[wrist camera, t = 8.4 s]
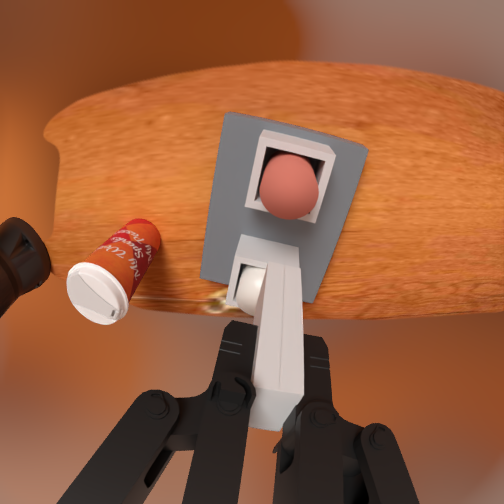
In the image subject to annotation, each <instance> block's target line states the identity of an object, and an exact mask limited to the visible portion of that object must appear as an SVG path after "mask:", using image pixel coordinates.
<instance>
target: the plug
mask: <svg viewBox="0 0 504 504" xmlns="http://www.w3.org/2000/svg"><path fill="white" fill-rule="evenodd" d="M265 271H266V269H264V268H260V267H256V266H251V265H247V264H244V265H243V269H242V274H241V278H240V282H239V286H238V290H237V294H236V302H237V304H238V306H239V307H240V309H241V310H243V311H244V312H245V313H247V314H249V315H252V316H254V315H255V308H256V304H257V300H258V296H259V293H260V289H261V286H262V282H263V278H264V275H265Z"/></svg>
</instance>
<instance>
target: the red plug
mask: <svg viewBox="0 0 504 504" xmlns="http://www.w3.org/2000/svg"><path fill="white" fill-rule="evenodd" d="M318 196H319V188H318V184H317V181H316V177H315V174H314V171H313V167H312V164H311V162H310V160H309V158H308V157H307V156H305V155H301V154H297V153H293V152H289V151H285V150H278V151H276V152H275V153H273V154H272V155H271V156H270V158H269V159H268V161H267V164H266V167H265V171H264V174H263V178H262V181H261V185H260V198H261V201H262V203H263V205H264V207H265V208H266V209H267V210H268V211H269V212H270V213H271V214H272V215H274V216H276V217H278V218H282V219H288V220H291V219H298V218H301V217H303V216H305V215H307V214H308V213H309V212H310V211H311V210H312V209H313V208H314V207H315V205H316V203H317V200H318Z"/></svg>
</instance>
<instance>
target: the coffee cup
mask: <svg viewBox="0 0 504 504" xmlns="http://www.w3.org/2000/svg"><path fill="white" fill-rule="evenodd" d="M160 243H161V238H160V234H159V232H158V230H157V228H156V227H155V226H154V225H153V224H152V223H151V222H149V221H147V220H145V219H134V220H132V221H130V222H129V223H127V224H126V225H125V226H123V227H122V228H121V229H120V230H119V231H117V232H116V233H115V234H114V235H113V236H111V237H110V238H109V239H108V240H107V241H106V242H104V243H103V244H102V245H101V246H100V247H99V248H98V249H96V250H95V251H94V252H93V253H92V254H91V255H90V256H89V257H87V258H86V259H85V260H84V261H83V262H82V263H78V264H76V265H75V266H74V267H73V268H72V269H71V270H69V273H68V277H67V292H68V295H69V298H70V300H71V302H72V304H73V305H74V306H75V308H76V309H77V310H78V311H79V312H80V313H81V314H82V315H83V316H85V317H86V318H88V319H89V320H91V321H93V322H96V323H99V324H105V325H106V324H112V323H114V322H116V321H117V320H119V319H121V318H123V317H124V316H125V315H126V313H127V311H128V303H129V301H130V300H131V298H132V296H133V294H134V292H135V290H136V288H137V287H138V285H139V283H140V281H141V279H142V278H143V276H144V274H145V272H146V270H147V269H148V267H149V265H150V263H151V262H152V260H153V258H154V256H155V254H156V252H157V251H158V249H159V246H160Z"/></svg>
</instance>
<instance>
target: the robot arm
mask: <svg viewBox="0 0 504 504" xmlns="http://www.w3.org/2000/svg"><path fill="white" fill-rule="evenodd" d="M50 268H51V267H50V260H49V256H48V253H47V250H46V248H45V246H44V244H43V242H42V240H41V238H40V237H39V235H38V234H37V233H36V232H35V230H34V229H33V228H32V227H31V226H30V225H29V224H28V223H27V222H25V221H23V220H22V219H20V218H16V217H12V218H9V219H7V220H6V221H5V222H3V223H2V224H1V225H0V318H1V317H2V316H3V314H4V313H5V312H6V311H7V309H9V307H10V306H11V305H12V304H13V303H14V302H15V301H16V299H17V298H18V297H19V296H21V295H23V294H25V293H27V292H30V291H32V290H33V289H35V288H38V287H40V286H41V285H42V284H43V283H44V282H45V281H46V280H47V279H48V277H49V275H50ZM329 368H330V365H329V354H328V347H327V345H326V344H325V342H324V340H323V338H322V337H317V336H312V335H307V334H303V310H302V285H301V268H297V267H292V266H288V265H283V264H279V263H274V262H270V261H268V264H267V267H266V271H265V275H264V278H263V282H262V286H261V289H260V293H259V296H258V300H257V304H256V308H255V315H254V321H253V325H252V324H247V323H243V322H238V321H234V320H232V321H231V322H230V323H229V324H228V325H227V326H226V327H225V329H224V333H223V337H222V341H221V345H220V349H219V353H218V357H217V361H216V365H215V369H214V373H213V377H212V381H211V383H210V385H209V387H208V389H207V390H206V391H205V392H203V393H202V394H200V395H198V396H195V397H189V398H174V397H173V396H172V395H170V394H169V393H168V392H165V391H162V390H149V391H146V392H143V393H142V394H141V395H140V396H138V397H137V398H136V400H135V401H134V402H133V404H132V405H131V406H130V408H129V409H128V410H127V412H126V413H125V414H124V415H123V417H122V418H121V419H120V421H119V422H118V423H117V425H116V426H115V427H114V429H113V430H112V431H111V433H110V434H109V435H108V436H107V438H106V439H105V440H104V442H103V443H102V444H101V446H100V447H99V448H98V450H97V451H96V452H95V454H94V455H93V456H92V458H91V459H90V460H89V461H88V463H87V464H86V465H85V467H84V468H83V470H82V471H81V472H80V473H79V475H78V476H77V477H76V479H75V480H74V481H73V482H72V484H71V485H70V486H69V488H68V489H67V490H66V492H65V493H64V494H63V496H62V497H61V498H60V500H59V501H58V502H57V504H143V503H144V501H145V500H146V498H147V496H148V495H149V493H150V492H151V490H152V489H153V487H154V485H155V484H156V482H157V481H158V479H159V477H160V475H161V474H162V473H163V471H164V469H165V468H166V466H167V464H168V463H169V461H170V460H171V458H172V456H173V455H174V453H175V451H185V450H194V454H193V458H192V462H191V467H190V471H189V475H188V479H187V484H186V488H185V492H184V497H183V501H182V504H237V503H238V496H239V489H240V483H241V476H242V468H243V461H244V454H245V447H246V439H247V432H248V427H252V428H259V429H264V430H271V431H280V429H281V428H282V427H283V434H282V438H281V439H280V441H279V442H278V443H277V444H276V446H275V447H274V449H273V453H276V452H277V463H276V473H275V484H274V495H273V504H419V501H418V498H417V495H416V492H415V490H414V487H413V484H412V481H411V478H410V476H409V473H408V470H407V468H406V465H405V462H404V460H403V457H402V454H401V451H400V449H399V446H398V444H397V441H396V439H395V437H394V434H393V433H392V431H391V430H390V429H389V428H388V427H387V426H385V425H383V424H380V423H373V424H370V425H368V426H366V427H365V428H364V427H361V426H358V425H356V424H353V423H350V422H348V421H346V420H344V419H343V418H342V417H340V416H339V413H338V412H337V411H336V410H335V408H334V407H333V402H332V390H331V378H330V370H329Z"/></svg>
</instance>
